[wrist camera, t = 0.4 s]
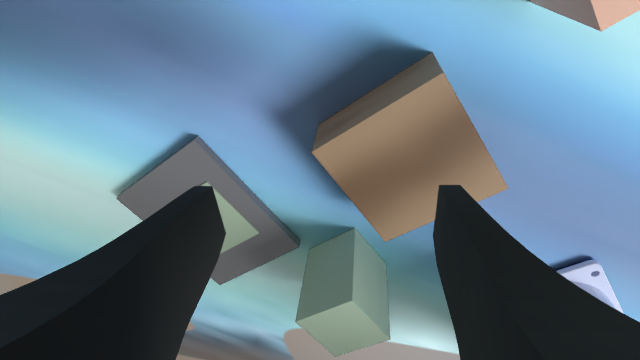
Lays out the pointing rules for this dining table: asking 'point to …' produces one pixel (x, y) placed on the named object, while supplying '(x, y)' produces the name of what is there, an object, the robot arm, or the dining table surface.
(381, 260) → the sage block
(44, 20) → the dining table surface
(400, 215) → the walnut slab
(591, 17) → the terracotta block
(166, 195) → the card
